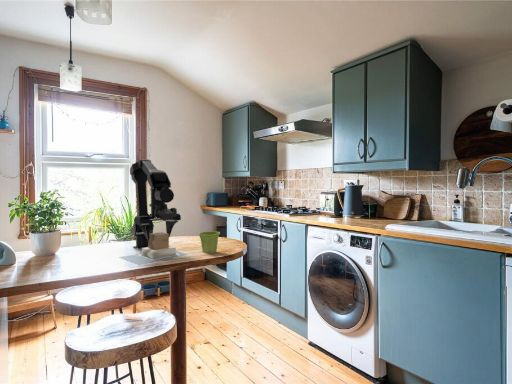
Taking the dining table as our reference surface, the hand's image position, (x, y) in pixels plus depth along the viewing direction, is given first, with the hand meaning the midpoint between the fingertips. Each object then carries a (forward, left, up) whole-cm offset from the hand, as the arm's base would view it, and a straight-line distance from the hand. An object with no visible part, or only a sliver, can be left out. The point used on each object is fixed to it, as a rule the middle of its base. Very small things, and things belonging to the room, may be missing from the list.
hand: (158, 238), depth 130 cm
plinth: (0, 0, -7) cm, 7 cm away
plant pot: (+10, +19, -8) cm, 23 cm away
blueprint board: (0, -2, -7) cm, 8 cm away
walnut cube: (0, 0, -4) cm, 4 cm away
